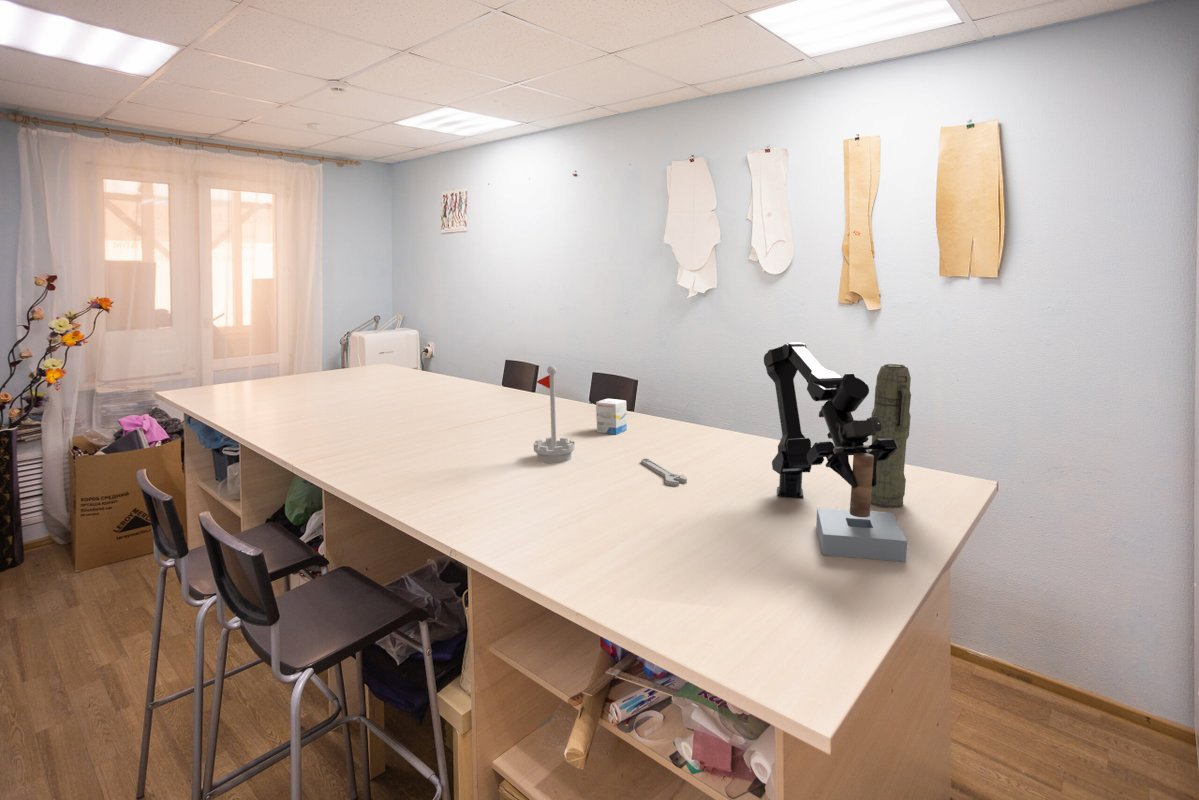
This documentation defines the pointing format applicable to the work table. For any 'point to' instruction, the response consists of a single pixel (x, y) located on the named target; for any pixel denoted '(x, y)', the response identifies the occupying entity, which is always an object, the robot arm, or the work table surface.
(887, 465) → the thermos
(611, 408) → the ink box
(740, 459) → the work table surface
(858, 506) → the pin
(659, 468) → the adjustable wrench
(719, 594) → the work table surface
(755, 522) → the work table surface
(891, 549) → the hole block
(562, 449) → the flag stand
